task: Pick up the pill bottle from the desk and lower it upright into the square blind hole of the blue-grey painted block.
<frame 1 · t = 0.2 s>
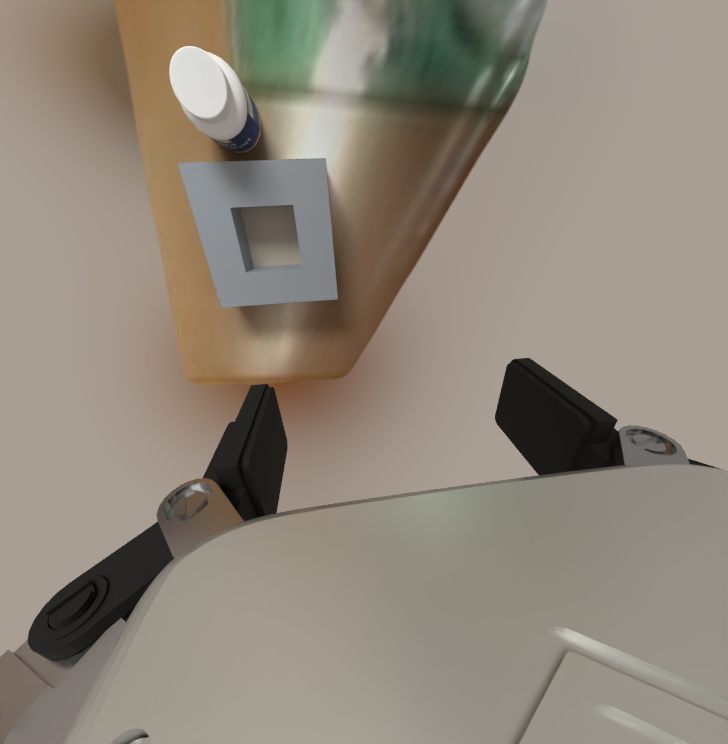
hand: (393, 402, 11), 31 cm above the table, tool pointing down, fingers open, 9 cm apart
pill bottle: (235, 122, 29), on the table
socket block: (275, 237, 35), on the table
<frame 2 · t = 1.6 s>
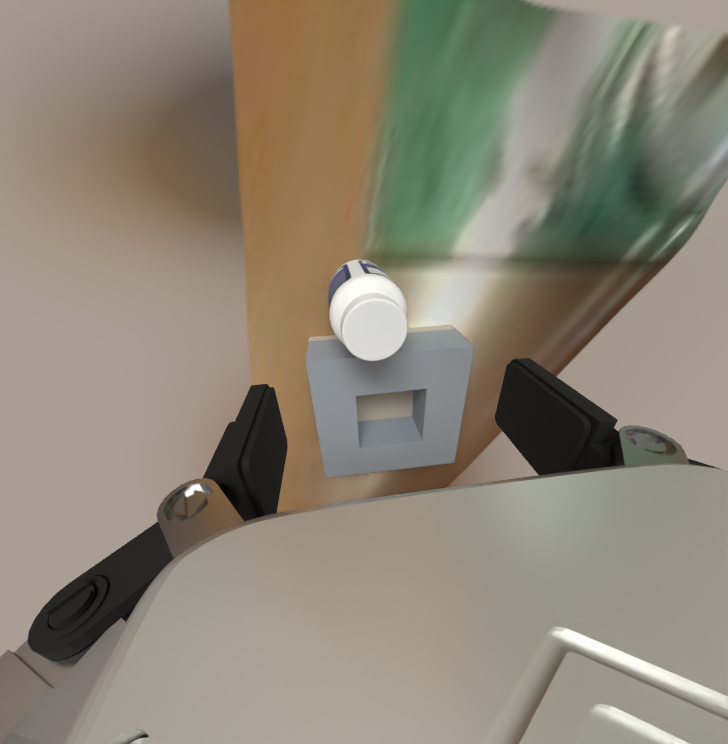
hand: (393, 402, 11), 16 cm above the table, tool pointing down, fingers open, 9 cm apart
pill bottle: (358, 290, 25), on the table
socket block: (382, 390, 30), on the table
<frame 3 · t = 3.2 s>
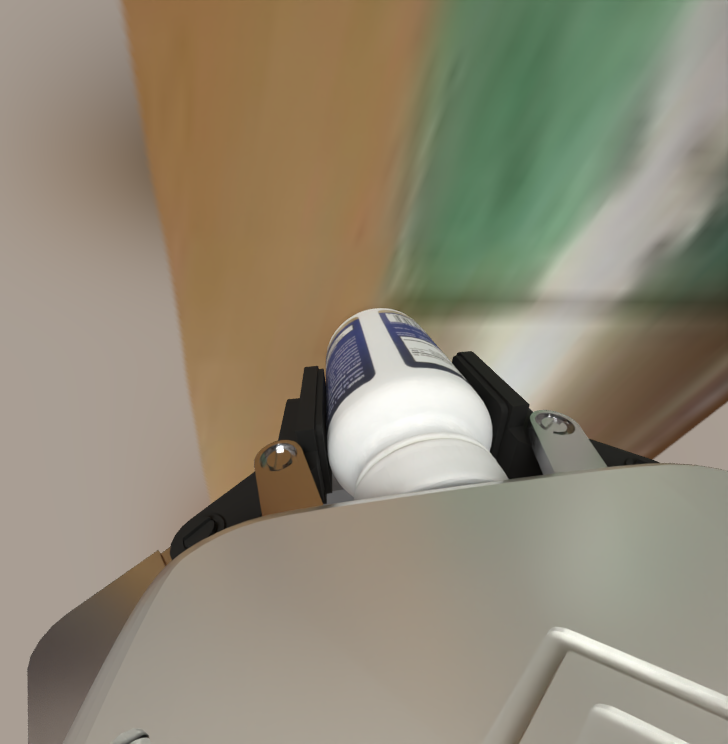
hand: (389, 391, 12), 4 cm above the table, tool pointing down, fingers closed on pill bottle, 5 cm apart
pill bottle: (376, 353, 15), on the table, touching gripper
socket block: (407, 486, 20), on the table
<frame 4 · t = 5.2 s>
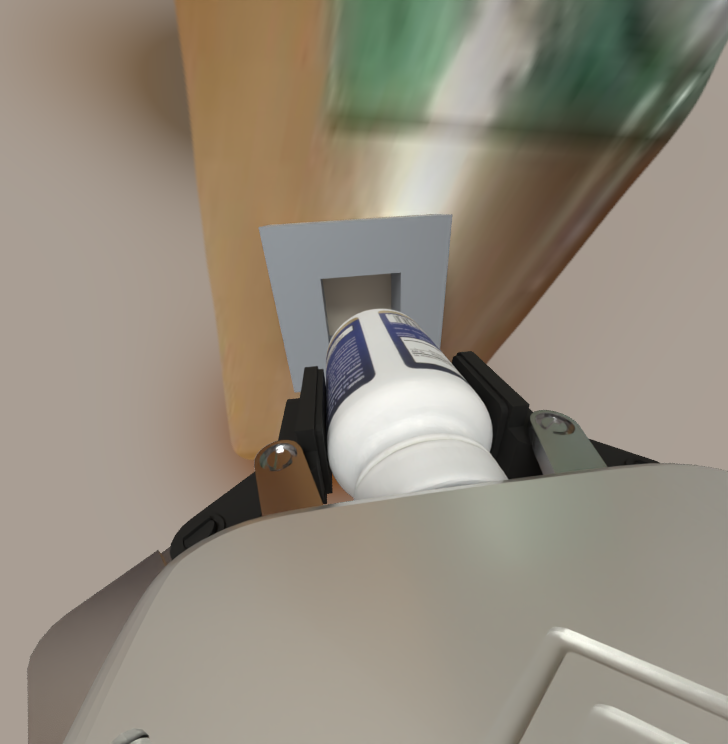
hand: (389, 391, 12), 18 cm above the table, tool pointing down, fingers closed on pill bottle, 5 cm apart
pill bottle: (376, 354, 15), point 14 cm above the table, touching gripper
socket block: (357, 299, 28), on the table
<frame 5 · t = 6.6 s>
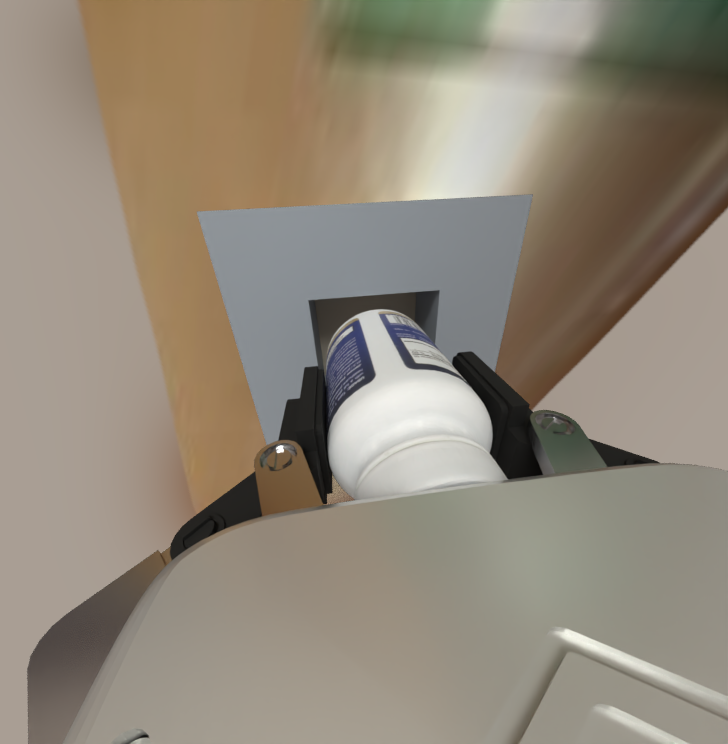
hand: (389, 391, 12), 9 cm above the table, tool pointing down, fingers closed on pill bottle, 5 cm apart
pill bottle: (376, 354, 15), point 5 cm above the table, touching gripper
socket block: (365, 323, 19), on the table
when the fingers open (6 cm above the table, at t = 7.5 s): pill bottle drops 1 cm, resting on socket block.
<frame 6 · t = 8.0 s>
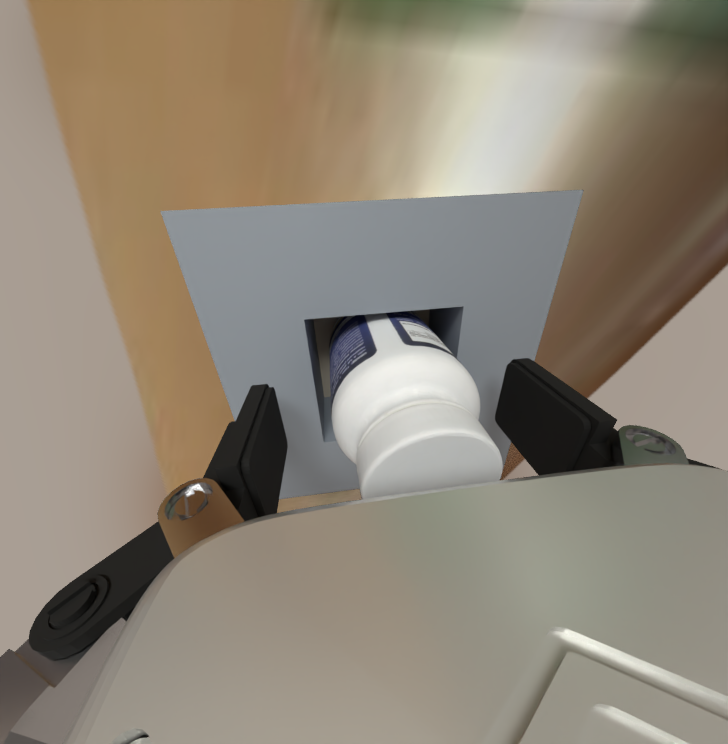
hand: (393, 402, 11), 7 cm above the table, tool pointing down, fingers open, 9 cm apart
pill bottle: (376, 341, 16), point 1 cm above the table, touching socket block
socket block: (371, 339, 17), on the table
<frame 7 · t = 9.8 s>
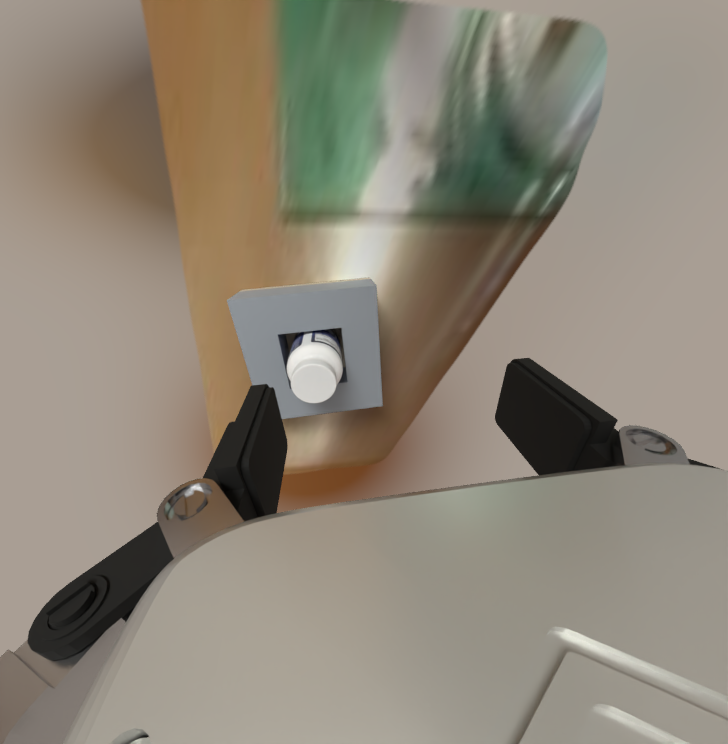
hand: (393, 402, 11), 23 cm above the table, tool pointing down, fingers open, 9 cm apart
pill bottle: (317, 343, 33), point 1 cm above the table, touching socket block
socket block: (316, 342, 34), on the table
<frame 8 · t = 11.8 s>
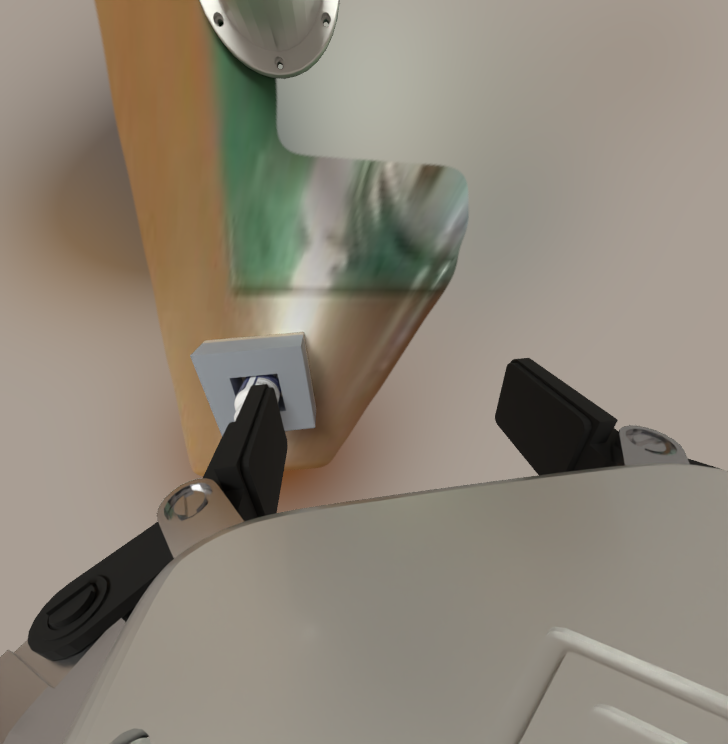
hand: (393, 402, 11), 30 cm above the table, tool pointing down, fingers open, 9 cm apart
pill bottle: (265, 378, 43), point 1 cm above the table, touching socket block
socket block: (265, 377, 44), on the table
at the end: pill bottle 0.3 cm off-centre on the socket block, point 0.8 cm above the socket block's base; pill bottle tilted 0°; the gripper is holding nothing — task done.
